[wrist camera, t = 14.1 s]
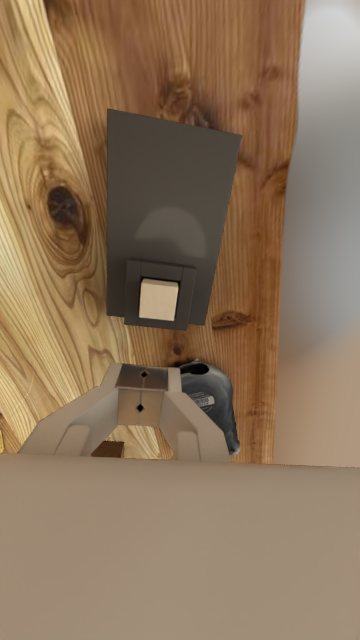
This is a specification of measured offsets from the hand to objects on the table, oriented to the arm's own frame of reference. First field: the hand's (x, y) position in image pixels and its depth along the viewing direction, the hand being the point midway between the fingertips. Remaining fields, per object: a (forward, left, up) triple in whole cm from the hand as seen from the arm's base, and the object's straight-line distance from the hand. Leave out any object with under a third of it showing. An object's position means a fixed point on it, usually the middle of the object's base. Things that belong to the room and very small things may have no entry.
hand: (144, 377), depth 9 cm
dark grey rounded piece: (-15, -7, -15) cm, 22 cm away
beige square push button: (+1, 0, -11) cm, 11 cm away
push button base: (+6, 0, -14) cm, 15 cm away
